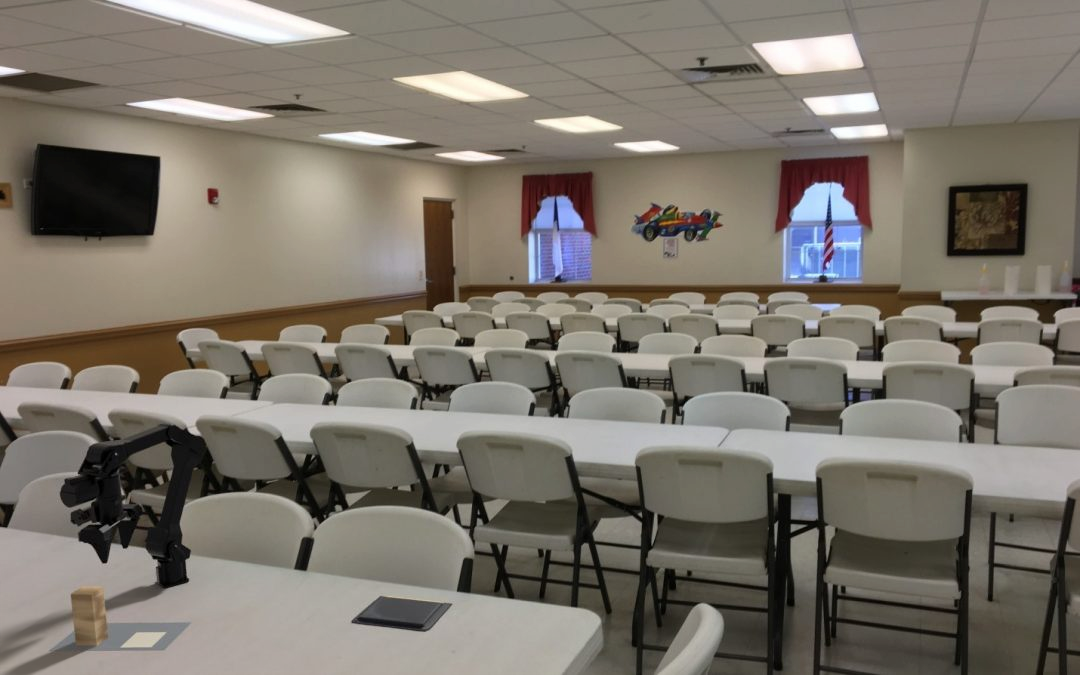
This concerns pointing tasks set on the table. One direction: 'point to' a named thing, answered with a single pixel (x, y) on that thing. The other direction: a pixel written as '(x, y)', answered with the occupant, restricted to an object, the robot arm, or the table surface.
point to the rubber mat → (130, 637)
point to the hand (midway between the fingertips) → (115, 555)
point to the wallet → (402, 613)
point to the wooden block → (89, 616)
